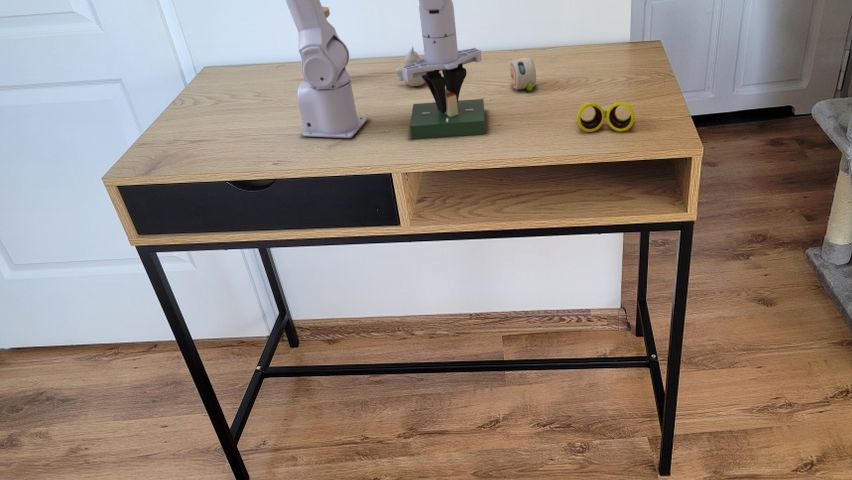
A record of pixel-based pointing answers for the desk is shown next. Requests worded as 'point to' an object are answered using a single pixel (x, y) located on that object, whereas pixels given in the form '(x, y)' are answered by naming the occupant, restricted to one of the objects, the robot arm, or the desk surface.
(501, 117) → the desk surface
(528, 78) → the roller toy
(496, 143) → the desk surface
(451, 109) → the red topped block
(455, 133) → the console
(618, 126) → the opera glasses
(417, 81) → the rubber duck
